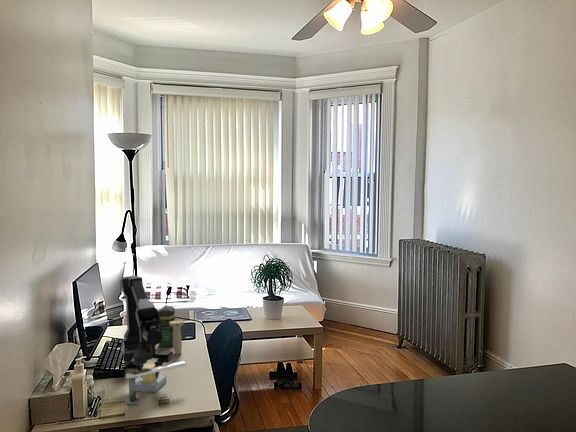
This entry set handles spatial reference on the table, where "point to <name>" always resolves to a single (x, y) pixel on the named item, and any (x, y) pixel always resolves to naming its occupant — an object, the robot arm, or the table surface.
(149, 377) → the plug
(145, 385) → the socket
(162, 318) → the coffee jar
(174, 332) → the handle
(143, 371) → the silver metal plank
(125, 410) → the table surface
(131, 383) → the post
